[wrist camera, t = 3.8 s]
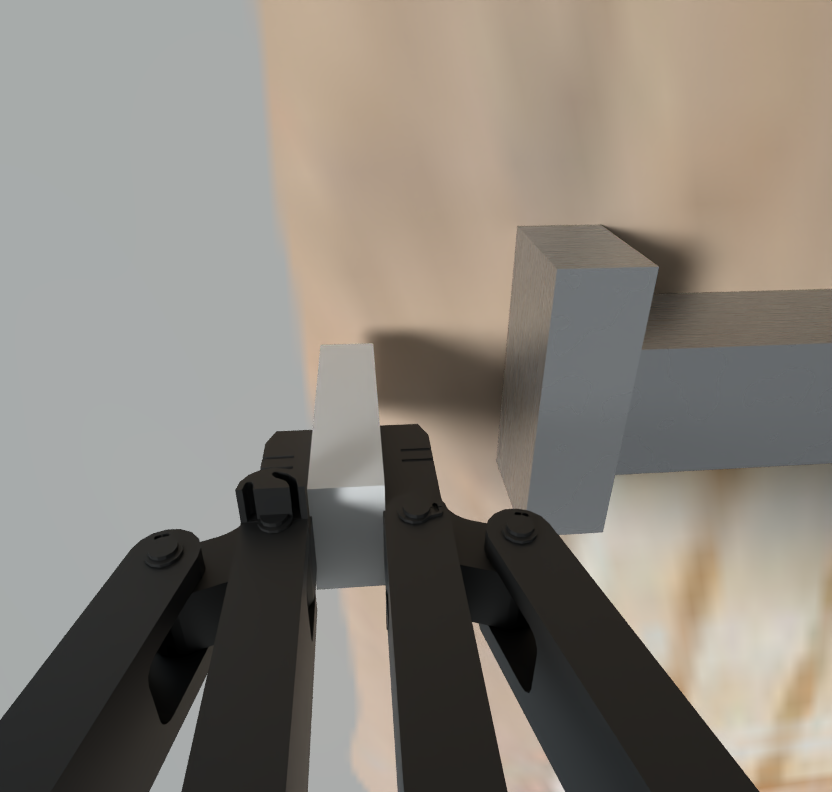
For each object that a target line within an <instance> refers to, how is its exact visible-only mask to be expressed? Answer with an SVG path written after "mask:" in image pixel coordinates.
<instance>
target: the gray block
mask: <svg viewBox="0 0 832 792" xmlns="http://www.w3.org/2000/svg"><path fill="white" fill-rule="evenodd" d="M658 269H659V266H657V265H656V264H655V263H653V262H652V261H650V260H649V259H648V258H646V257H645V256H644V255H642V254H641V253H639V252H638V251H637V250H635V249H634V248H632V247H631V246H630V245H628V244H627V243H625V242H624V241H623V240H621V239H620V238H619V237H617V236H616V235H614V234H613V233H612V232H610V231H609V230H607V229H606V228H605V227H603V226H602V225H550V226H517V235H516V246H515V258H514V269H513V280H512V291H511V302H510V313H509V325H508V336H507V347H506V358H505V369H504V380H503V391H502V403H501V414H500V425H499V436H498V447H497V458H496V462H497V465H498V468H499V470H500V473H501V476H502V479H503V482H504V485H505V487H506V490H507V493H508V496H509V499H510V502H511V504H512V507H513V509H523V510H528V511H531V512H533V513H536V514H538V515H540V516H542V517H543V518H544V519H545V520H546V521H547V522H548V523H549V524H550V525H551V526H552V527H553V529H554V530H555V531H556V533H557V534H558V535H566V534H582V533H598V532H603V529H604V524H605V519H606V515H607V510H608V505H609V501H610V496H611V491H612V486H613V482H614V477H615V475H621V474H639V473H658V472H676V471H695V470H713V469H732V468H751V467H769V466H788V465H806V464H825V463H832V289H813V290H777V291H740V292H703V293H666V294H653V293H654V288H655V284H656V279H657V274H658Z"/></svg>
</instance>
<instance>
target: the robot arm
mask: <svg viewBox="0 0 832 792" xmlns="http://www.w3.org/2000/svg"><path fill="white" fill-rule="evenodd" d="M235 491H236V497H237V502H238V508H239V514H240V520H241V525H240V526H239V527H238V528H237V529H235V530H233V531H231V532H229V533H227V534H225V535H222V536H219V537H216V538H213V539H209V540H206V541H202V542H199V539H198V538H197V537H196V536H195V535H194V534H193V533H192V532H189V531H185V530H181V529H171V530H164V531H161V532H157V533H153V534H151V535H150V536H148V537H146V538H144V539H142V540H141V541H140V542H138V543H137V544H136V545H135V546H134V547H133V548H132V549H131V550H130V551H129V553H128V554H127V555H126V557H125V558H124V559H123V561H122V562H121V563H120V564H119V566H118V567H117V568H116V570H115V571H114V572H113V574H112V575H111V576H110V578H109V579H108V580H107V582H106V583H105V584H104V585H103V587H102V588H101V589H100V591H99V592H98V593H97V595H96V596H95V597H94V598H93V600H92V601H91V602H90V604H89V605H88V606H87V608H86V609H85V610H84V611H83V613H82V614H81V615H80V617H79V618H78V619H77V621H76V622H75V623H74V625H73V626H72V627H71V628H70V630H69V631H68V632H67V634H66V635H65V636H64V638H63V639H62V640H61V642H60V643H59V644H58V645H57V647H56V648H55V649H54V651H53V652H52V653H51V655H50V656H49V657H48V659H47V660H46V661H45V662H44V664H43V665H42V666H41V668H40V669H39V670H38V672H37V673H36V674H35V676H34V677H33V678H32V679H31V681H30V682H29V683H28V685H27V686H26V687H25V689H24V690H23V691H22V692H21V694H20V695H19V696H18V698H17V699H16V700H15V702H14V703H13V704H12V705H11V707H10V708H9V710H8V711H7V712H6V713H5V715H4V716H3V717H2V719H1V720H0V792H149V791H150V789H151V787H152V785H153V783H154V781H155V779H156V777H157V775H158V773H159V771H160V769H161V767H162V765H163V763H164V761H165V758H166V756H167V754H168V752H169V750H170V748H171V746H172V744H173V742H174V740H175V738H176V736H177V734H178V732H179V730H180V728H181V726H182V724H183V722H184V720H185V718H186V716H187V714H188V712H189V710H190V708H191V706H192V704H193V702H194V699H195V698H196V696H197V694H198V692H199V690H200V688H201V686H202V683H203V681H204V679H205V677H206V675H207V679H206V683H205V688H204V692H203V697H202V701H201V706H200V711H199V716H198V720H197V724H196V729H195V733H194V738H193V742H192V747H191V751H190V756H189V760H188V765H187V769H186V774H185V779H184V784H183V787H182V792H308V775H309V756H310V736H311V718H312V699H313V680H314V659H315V641H316V622H317V604H316V594H315V590H316V584H317V590H318V589H333V588H349V587H364V586H379V585H386V624H387V630H388V643H389V659H390V675H391V691H392V707H393V723H394V738H395V754H396V770H397V786H398V792H507V787H506V783H505V778H504V773H503V768H502V763H501V759H500V754H499V749H498V744H497V740H496V735H495V730H494V725H493V721H492V716H491V711H490V706H489V701H488V697H487V692H486V687H485V682H484V678H483V673H482V668H481V663H480V658H479V654H478V649H477V644H476V639H475V635H474V630H473V625H472V622H475V623H479V626H480V630H481V632H482V634H483V636H484V638H485V640H486V641H487V643H488V645H489V647H490V649H491V651H492V653H493V655H494V657H495V659H496V661H497V662H498V664H499V666H500V668H501V670H502V672H503V674H504V676H505V678H506V680H507V682H508V683H509V685H510V687H511V689H512V691H513V693H514V695H515V697H516V699H517V701H518V703H519V704H520V706H521V708H522V710H523V712H524V714H525V716H526V718H527V720H528V722H529V723H530V725H531V727H532V729H533V731H534V733H535V735H536V737H537V739H538V741H539V743H540V744H541V746H542V748H543V750H544V752H545V754H546V756H547V758H548V760H549V762H550V764H551V765H552V767H553V769H554V771H555V773H556V775H557V777H558V779H559V781H560V783H561V785H562V786H563V788H564V790H565V792H759V791H758V789H757V788H756V787H755V785H754V784H753V783H752V782H751V780H750V779H749V778H748V777H747V775H746V774H745V773H744V771H743V770H742V769H741V768H740V766H739V765H738V764H737V762H736V761H735V760H734V759H733V757H732V756H731V755H730V754H729V752H728V751H727V750H726V748H725V747H724V746H723V745H722V743H721V742H720V741H719V739H718V738H717V737H716V736H715V734H714V733H713V732H712V731H711V729H710V728H709V727H708V725H707V724H706V723H705V722H704V720H703V719H702V718H701V716H700V715H699V714H698V713H697V711H696V710H695V709H694V708H693V706H692V705H691V704H690V702H689V701H688V700H687V699H686V697H685V696H684V695H683V693H682V692H681V691H680V690H679V688H678V687H677V686H676V685H675V683H674V682H673V681H672V679H671V678H670V677H669V676H668V674H667V673H666V672H665V671H664V669H663V668H662V667H661V665H660V664H659V663H658V662H657V660H656V659H655V658H654V656H653V655H652V654H651V653H650V651H649V650H648V649H647V648H646V646H645V645H644V644H643V642H642V641H641V640H640V639H639V637H638V636H637V635H636V633H635V632H634V631H633V630H632V628H631V627H630V626H629V625H628V623H627V622H626V621H625V619H624V618H623V617H622V616H621V614H620V613H619V612H618V610H617V609H616V608H615V607H614V605H613V604H612V603H611V602H610V600H609V599H608V598H607V596H606V595H605V594H604V593H603V591H602V590H601V589H600V587H599V586H598V585H597V584H596V582H595V581H594V580H593V579H592V577H591V576H590V575H589V573H588V572H587V571H586V570H585V568H584V567H583V566H582V564H581V563H580V562H579V561H578V559H577V558H576V557H575V556H574V554H573V553H572V552H571V550H570V549H569V548H568V547H567V545H566V544H565V543H564V542H563V540H562V539H561V538H560V536H559V535H558V534H557V533H556V531H555V530H554V529H553V527H552V526H551V525H550V524H549V523H548V522H547V521H546V520H545V519H544V518H543V517H542V516H540V515H538V514H536V513H533V512H531V511H528V510H523V509H505V510H502V511H500V512H497V513H495V514H494V515H493V516H492V517H491V518H490V519H489V520H488V523H482V522H476V521H471V520H468V519H464V518H461V517H459V516H457V515H455V514H454V513H452V512H451V511H450V510H448V509H447V507H446V505H445V503H444V502H443V501H442V499H441V495H440V490H439V485H438V480H437V476H436V471H435V466H434V461H433V456H432V451H431V446H430V441H429V436H428V434H427V433H426V432H425V431H424V430H423V429H422V428H421V427H420V426H419V425H418V424H407V425H383V426H380V422H379V410H378V397H377V385H376V373H375V360H374V348H373V343H367V344H334V345H321V346H320V357H319V367H318V378H317V389H316V399H315V410H314V421H313V430H299V431H277V432H276V433H275V434H274V435H273V436H272V437H271V438H270V439H269V440H268V441H267V443H266V444H265V449H264V454H263V460H262V463H261V470H260V471H257V472H254V473H252V474H250V475H248V476H247V477H245V478H244V479H243V480H242V481H240V483H239V484H238V486H237V488H236V490H235ZM207 673H208V674H207Z"/></svg>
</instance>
